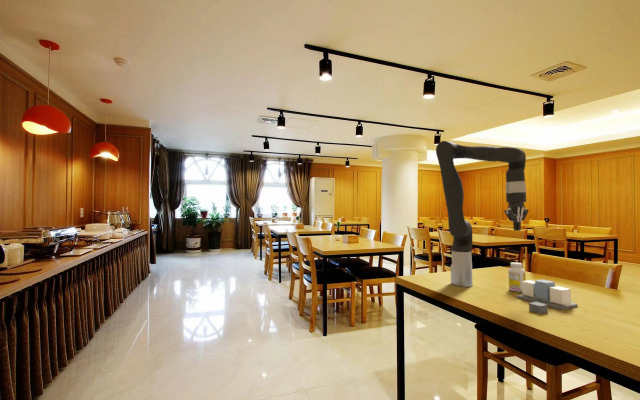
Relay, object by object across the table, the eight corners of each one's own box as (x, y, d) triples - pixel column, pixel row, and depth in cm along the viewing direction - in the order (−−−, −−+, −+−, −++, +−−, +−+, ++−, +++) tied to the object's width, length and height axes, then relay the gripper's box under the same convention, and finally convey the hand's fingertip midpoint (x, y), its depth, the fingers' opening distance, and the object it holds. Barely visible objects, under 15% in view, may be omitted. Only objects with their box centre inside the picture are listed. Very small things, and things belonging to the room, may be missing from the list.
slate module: (535, 297, 120) (535, 280, 121) (543, 296, 122) (542, 279, 122) (547, 300, 116) (546, 283, 116) (555, 299, 118) (554, 281, 118)
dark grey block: (529, 310, 110) (528, 302, 110) (536, 309, 111) (536, 301, 111) (540, 314, 106) (539, 306, 106) (547, 312, 107) (547, 304, 108)
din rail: (516, 297, 125) (516, 281, 126) (532, 294, 129) (531, 279, 129) (561, 310, 109) (560, 291, 110) (577, 306, 113) (576, 288, 113)
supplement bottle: (520, 288, 139) (519, 261, 140) (529, 292, 133) (528, 264, 133) (506, 288, 140) (505, 261, 140) (514, 292, 133) (512, 264, 134)
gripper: (517, 192, 136) (519, 229, 135) (497, 192, 131) (498, 230, 130) (534, 191, 129) (536, 230, 128) (513, 191, 124) (515, 231, 123)
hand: (517, 230), depth 129 cm, fingers closed
